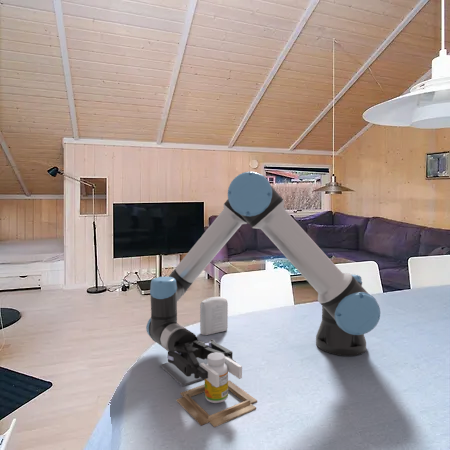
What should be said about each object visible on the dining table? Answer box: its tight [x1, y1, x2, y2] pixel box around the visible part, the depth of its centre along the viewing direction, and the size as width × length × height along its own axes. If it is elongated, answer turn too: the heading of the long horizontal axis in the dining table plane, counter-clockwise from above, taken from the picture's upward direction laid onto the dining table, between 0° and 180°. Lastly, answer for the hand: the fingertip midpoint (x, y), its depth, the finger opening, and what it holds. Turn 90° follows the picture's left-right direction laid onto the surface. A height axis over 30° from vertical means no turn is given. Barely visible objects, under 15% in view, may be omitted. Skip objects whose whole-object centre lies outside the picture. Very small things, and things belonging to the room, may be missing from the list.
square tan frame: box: [176, 379, 258, 428], centre depth 80 cm, size 15×15×1 cm
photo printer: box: [199, 296, 229, 336], centre depth 123 cm, size 10×4×12 cm, turn 123°
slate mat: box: [160, 357, 208, 387], centre depth 96 cm, size 13×13×1 cm
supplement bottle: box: [204, 352, 229, 404], centre depth 80 cm, size 5×5×10 cm
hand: (229, 376), depth 75 cm, fingers closed on supplement bottle, 5 cm apart
